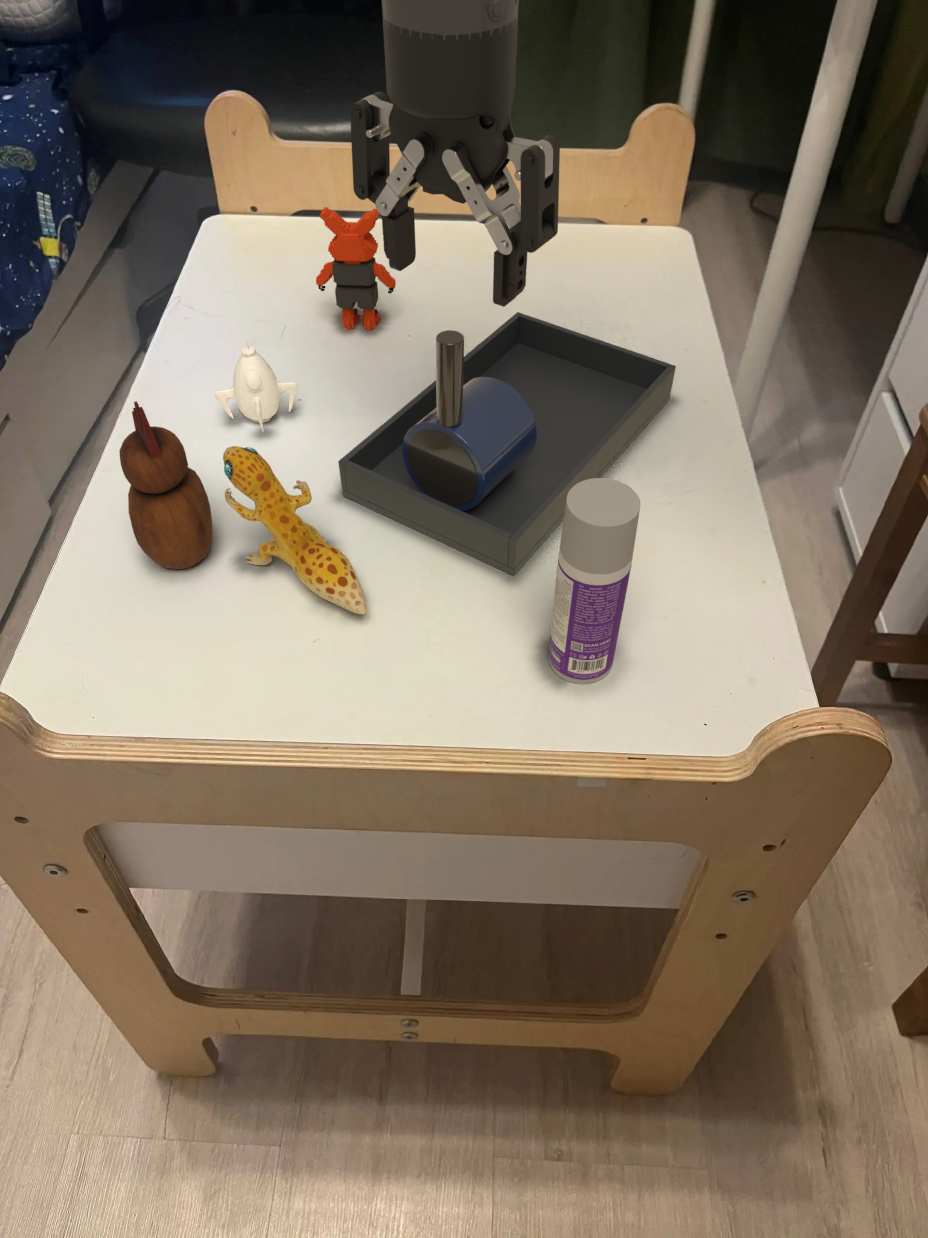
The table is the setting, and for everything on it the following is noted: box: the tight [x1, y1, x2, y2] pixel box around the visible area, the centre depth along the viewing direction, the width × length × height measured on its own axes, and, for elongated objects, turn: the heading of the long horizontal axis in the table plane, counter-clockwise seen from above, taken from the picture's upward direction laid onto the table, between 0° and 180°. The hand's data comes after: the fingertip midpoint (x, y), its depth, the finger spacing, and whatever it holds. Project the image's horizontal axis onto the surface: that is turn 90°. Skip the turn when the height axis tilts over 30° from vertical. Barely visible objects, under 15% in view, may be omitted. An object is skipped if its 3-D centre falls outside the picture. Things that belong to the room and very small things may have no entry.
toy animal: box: [315, 206, 396, 332], centre depth 93 cm, size 8×5×12 cm
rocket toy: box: [213, 341, 299, 433], centre depth 83 cm, size 5×5×8 cm
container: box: [547, 477, 641, 685], centre depth 60 cm, size 5×5×15 cm
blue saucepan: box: [402, 329, 537, 511], centre depth 72 cm, size 15×8×8 cm
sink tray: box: [337, 311, 677, 576], centre depth 81 cm, size 17×28×4 cm, turn 146°
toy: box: [222, 445, 367, 615], centre depth 68 cm, size 7×15×10 cm, turn 51°
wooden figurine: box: [119, 400, 213, 570], centre depth 68 cm, size 7×6×15 cm
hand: (452, 282), depth 62 cm, fingers open, 8 cm apart
